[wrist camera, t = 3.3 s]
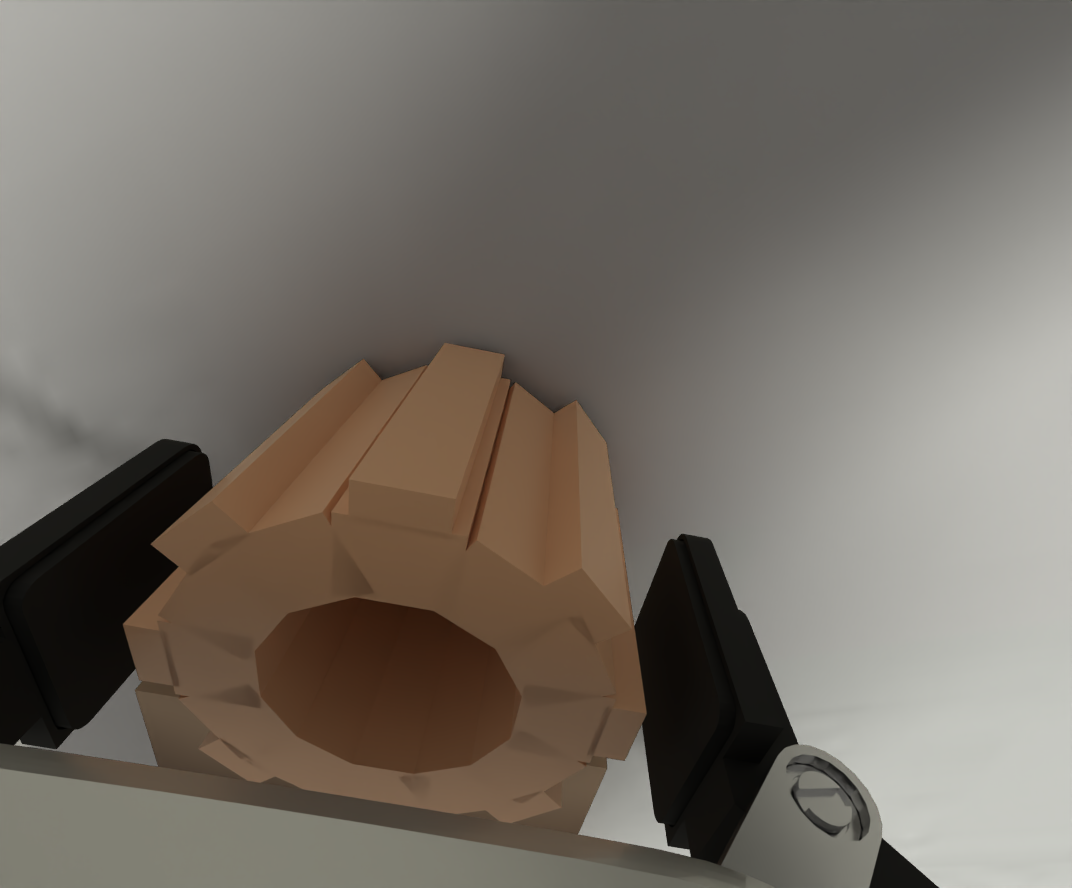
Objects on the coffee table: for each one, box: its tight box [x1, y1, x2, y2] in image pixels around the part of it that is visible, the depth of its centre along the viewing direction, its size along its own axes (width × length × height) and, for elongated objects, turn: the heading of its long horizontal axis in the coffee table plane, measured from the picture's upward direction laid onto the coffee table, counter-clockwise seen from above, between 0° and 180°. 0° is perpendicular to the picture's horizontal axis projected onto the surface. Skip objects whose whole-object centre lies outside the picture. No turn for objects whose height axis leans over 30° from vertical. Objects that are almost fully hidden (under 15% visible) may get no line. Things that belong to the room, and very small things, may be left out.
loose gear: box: [123, 343, 647, 823], centre depth 10 cm, size 7×7×5 cm
